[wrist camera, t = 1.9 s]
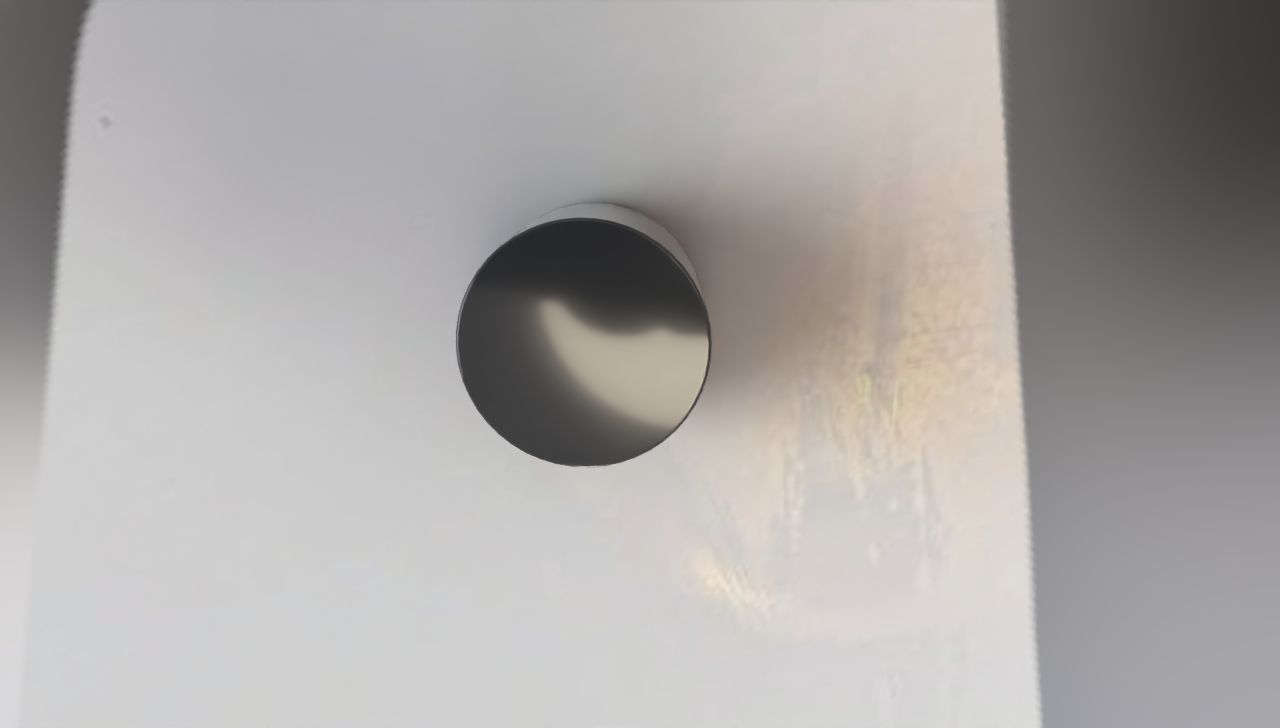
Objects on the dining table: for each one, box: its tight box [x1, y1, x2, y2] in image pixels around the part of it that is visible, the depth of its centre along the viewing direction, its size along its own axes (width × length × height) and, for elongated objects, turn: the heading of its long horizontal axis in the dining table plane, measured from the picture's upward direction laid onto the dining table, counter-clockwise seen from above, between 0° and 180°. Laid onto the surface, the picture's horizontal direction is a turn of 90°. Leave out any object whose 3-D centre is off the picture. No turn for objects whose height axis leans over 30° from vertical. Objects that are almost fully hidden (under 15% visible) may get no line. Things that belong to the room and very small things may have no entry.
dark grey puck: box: [456, 203, 712, 467], centre depth 21 cm, size 5×5×4 cm
